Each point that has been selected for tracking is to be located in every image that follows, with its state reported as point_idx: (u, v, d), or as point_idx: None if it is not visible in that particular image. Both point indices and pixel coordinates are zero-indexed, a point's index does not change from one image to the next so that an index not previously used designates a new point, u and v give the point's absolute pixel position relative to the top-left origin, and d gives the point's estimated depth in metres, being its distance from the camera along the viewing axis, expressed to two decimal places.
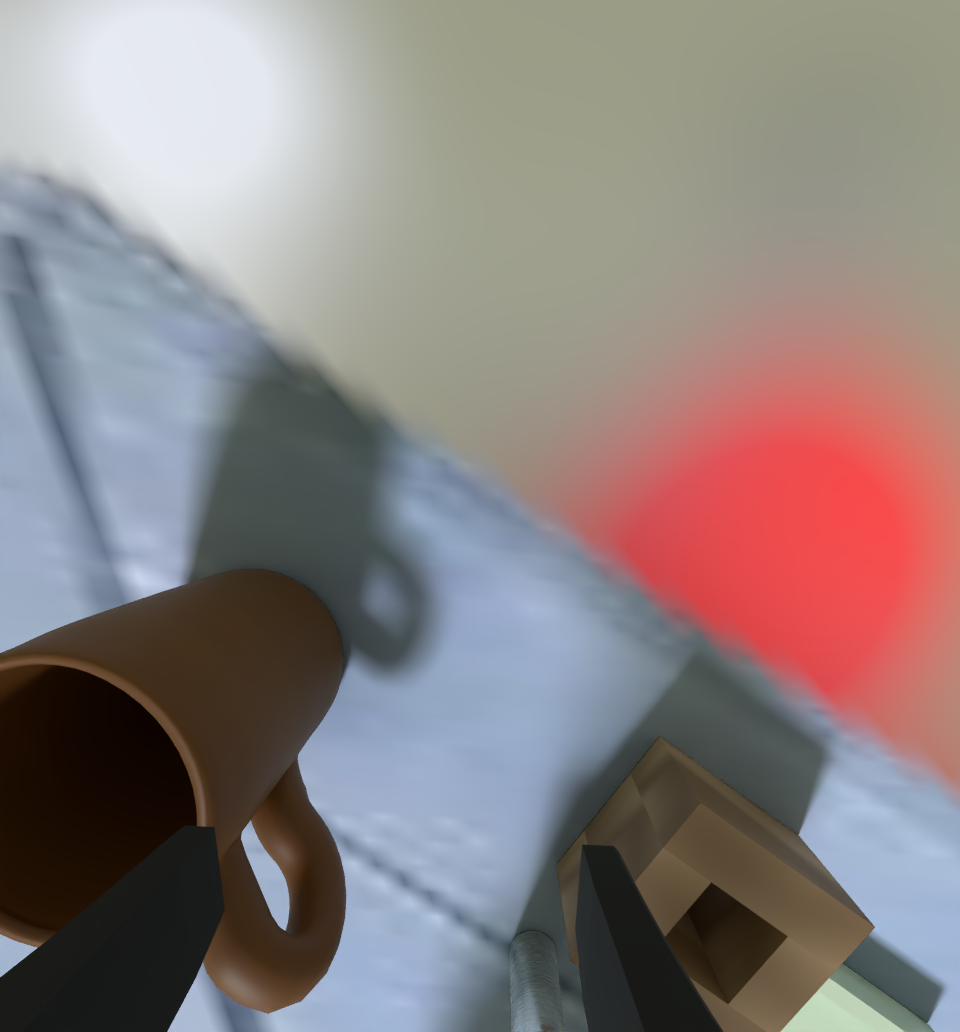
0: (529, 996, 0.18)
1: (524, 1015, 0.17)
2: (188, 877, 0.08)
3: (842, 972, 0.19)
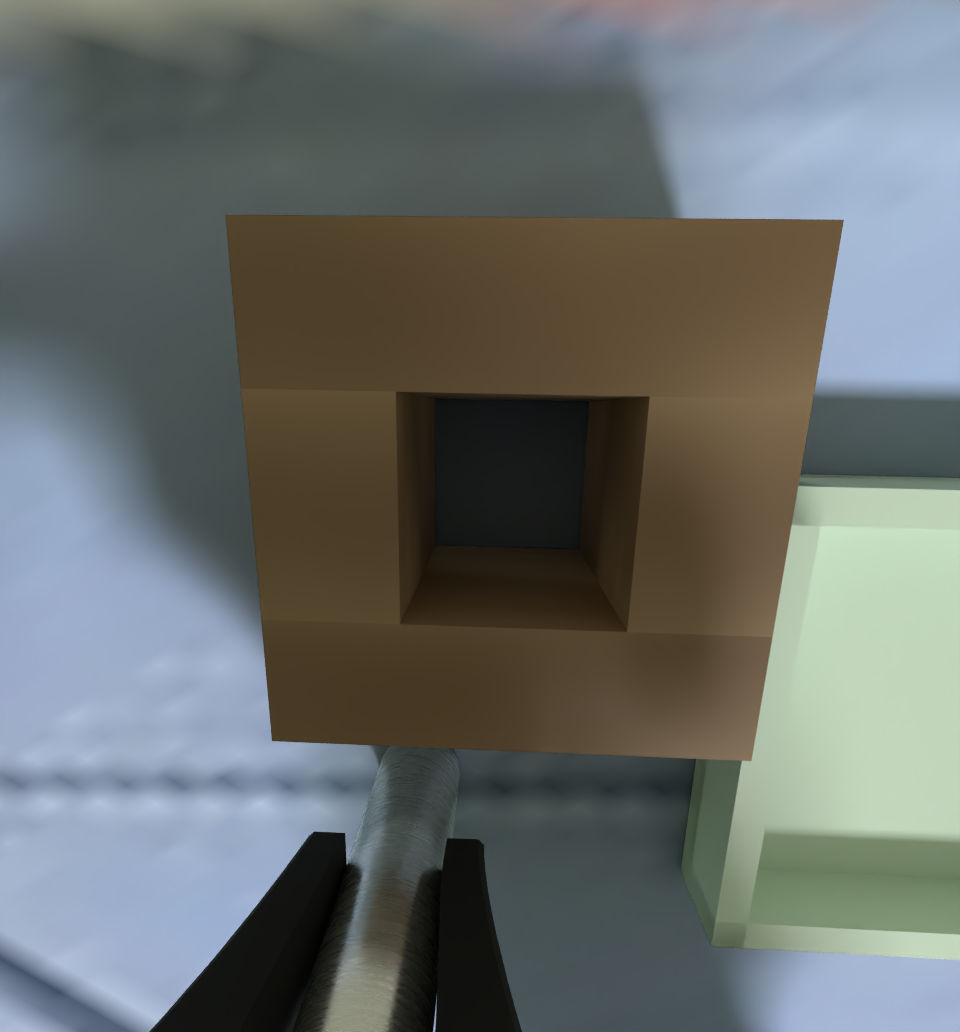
0: (359, 839, 0.09)
1: (344, 875, 0.09)
2: (330, 884, 0.08)
3: (920, 481, 0.09)
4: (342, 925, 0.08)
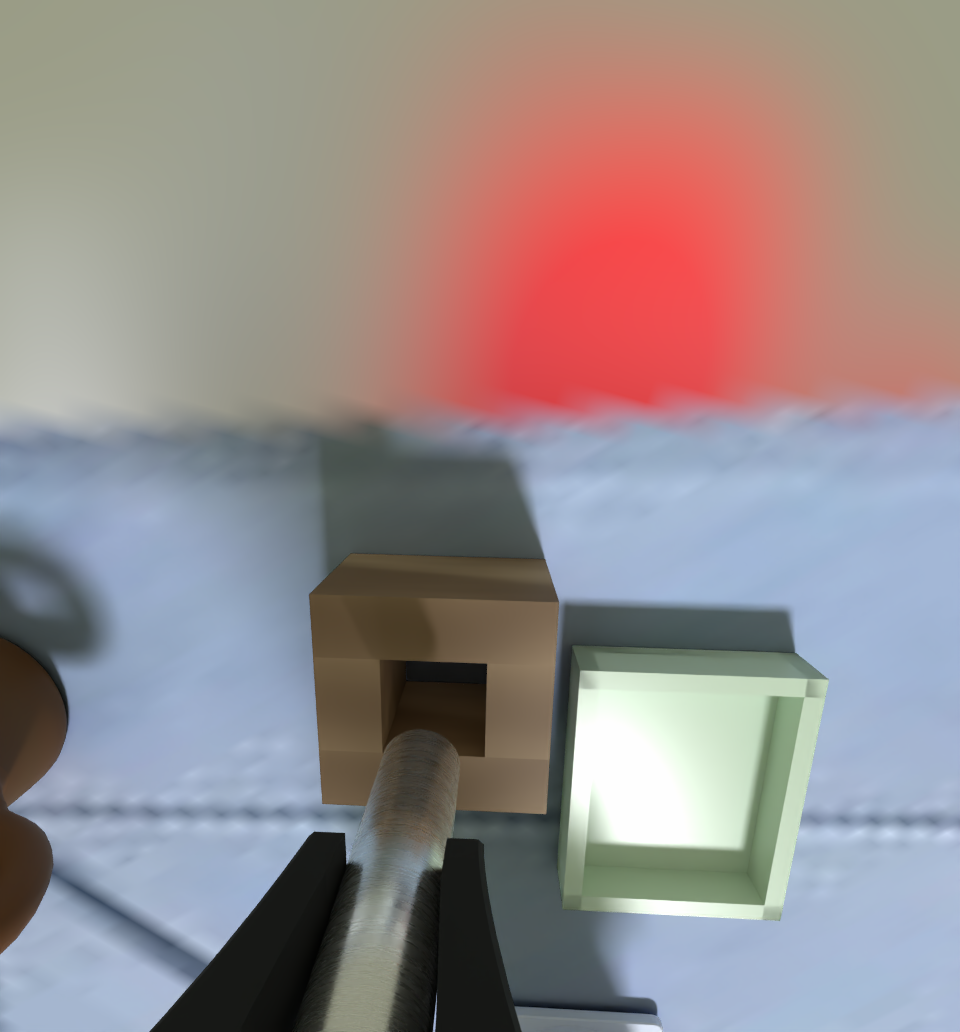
0: (364, 828, 0.10)
1: (348, 862, 0.09)
2: (330, 884, 0.08)
3: (663, 657, 0.17)
4: (348, 911, 0.08)
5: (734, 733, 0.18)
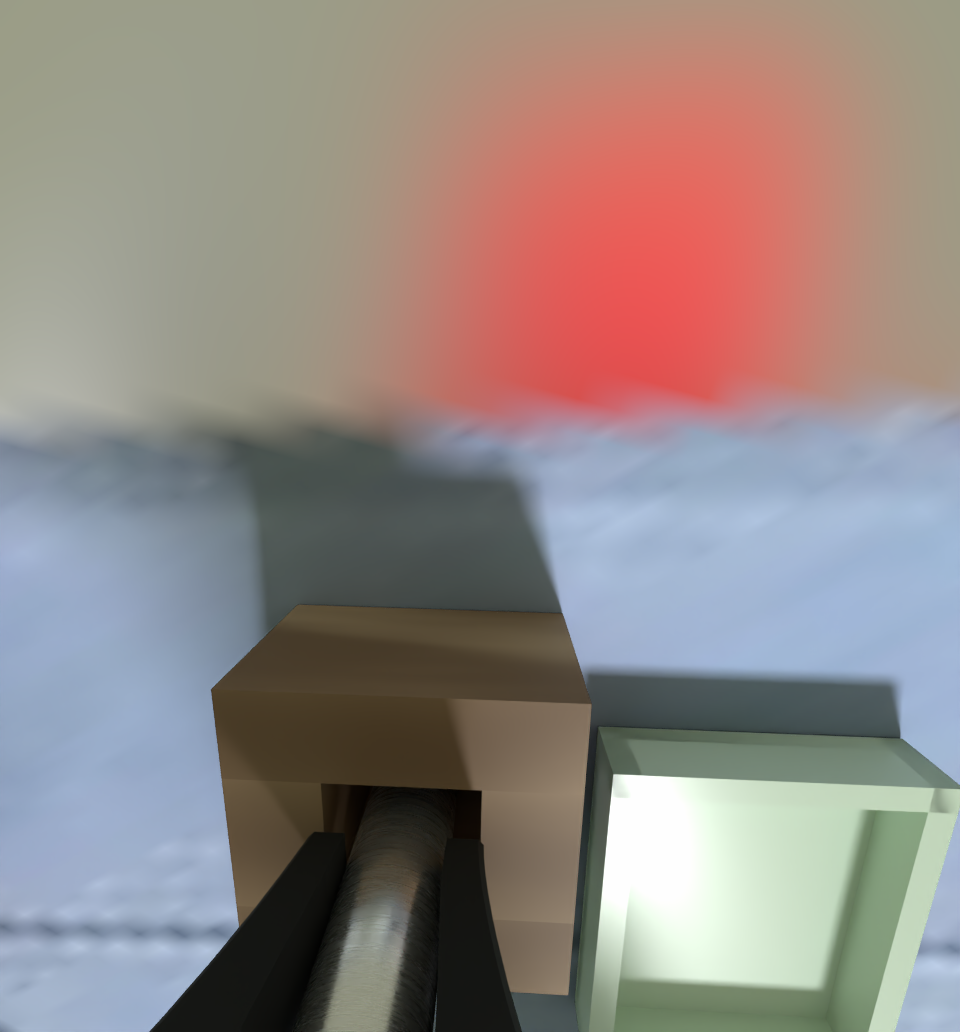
0: (364, 828, 0.10)
1: (348, 862, 0.09)
2: (330, 884, 0.08)
3: (725, 748, 0.13)
4: (348, 910, 0.08)
5: (817, 845, 0.13)
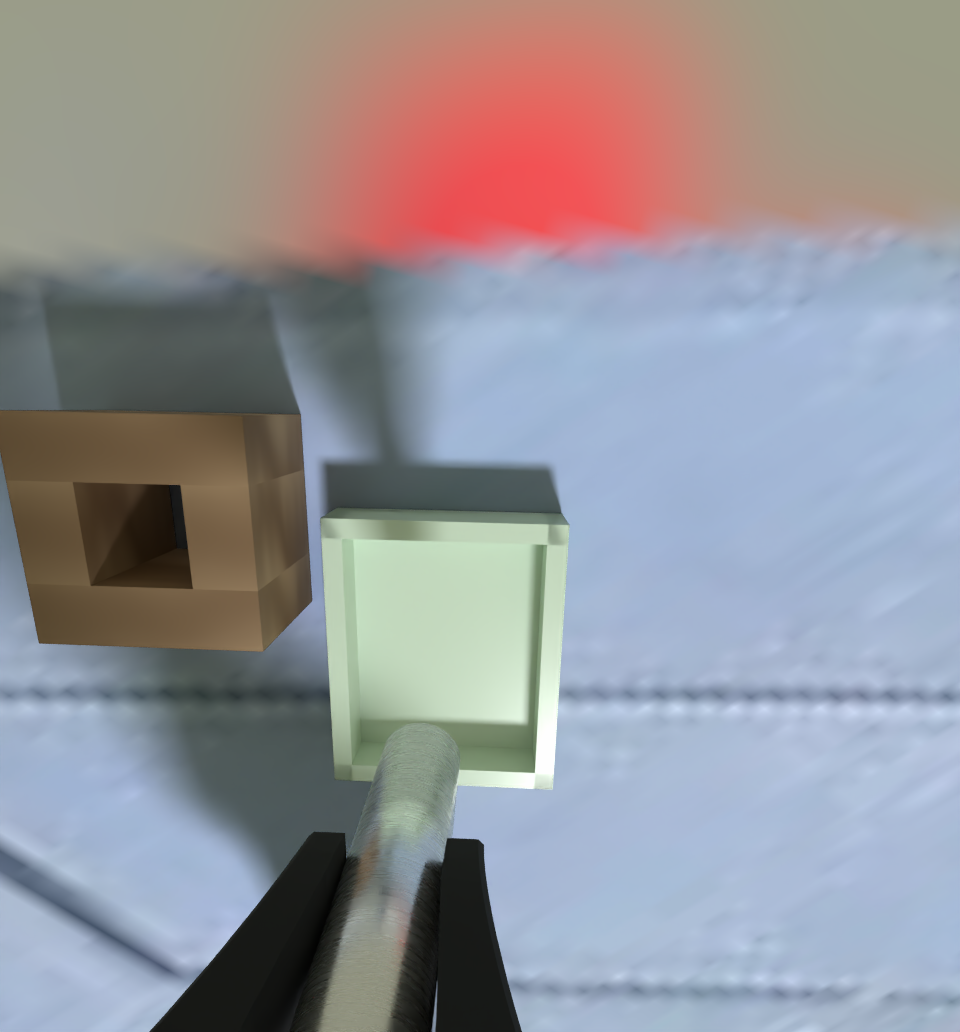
0: (361, 823, 0.10)
1: (347, 857, 0.09)
2: (330, 884, 0.08)
3: (420, 513, 0.17)
4: (344, 902, 0.08)
5: (503, 597, 0.18)
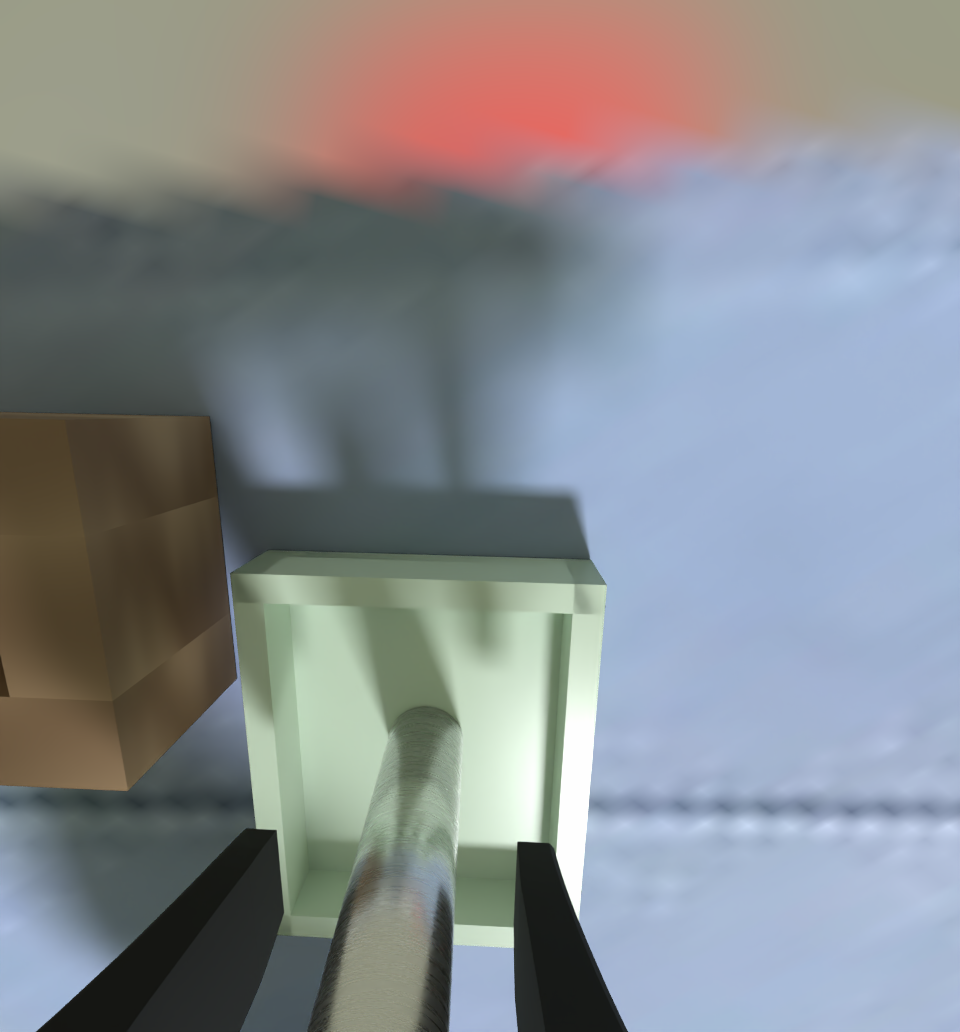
0: (375, 796, 0.10)
1: (364, 827, 0.10)
2: (256, 880, 0.08)
3: (384, 561, 0.12)
4: (367, 863, 0.08)
5: (505, 679, 0.12)
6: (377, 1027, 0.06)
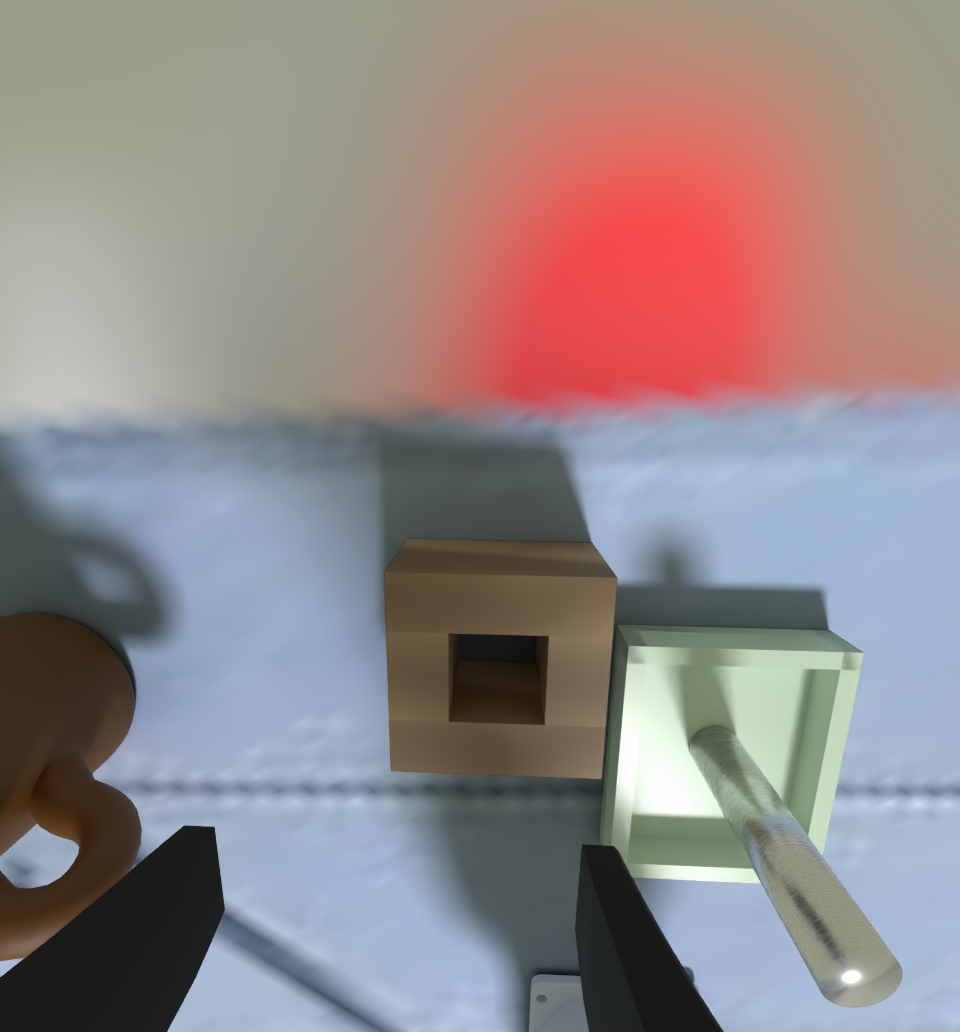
0: (725, 785, 0.17)
1: (729, 803, 0.16)
2: (188, 877, 0.08)
3: (705, 634, 0.18)
4: (760, 822, 0.15)
5: (771, 707, 0.19)
6: (837, 895, 0.13)
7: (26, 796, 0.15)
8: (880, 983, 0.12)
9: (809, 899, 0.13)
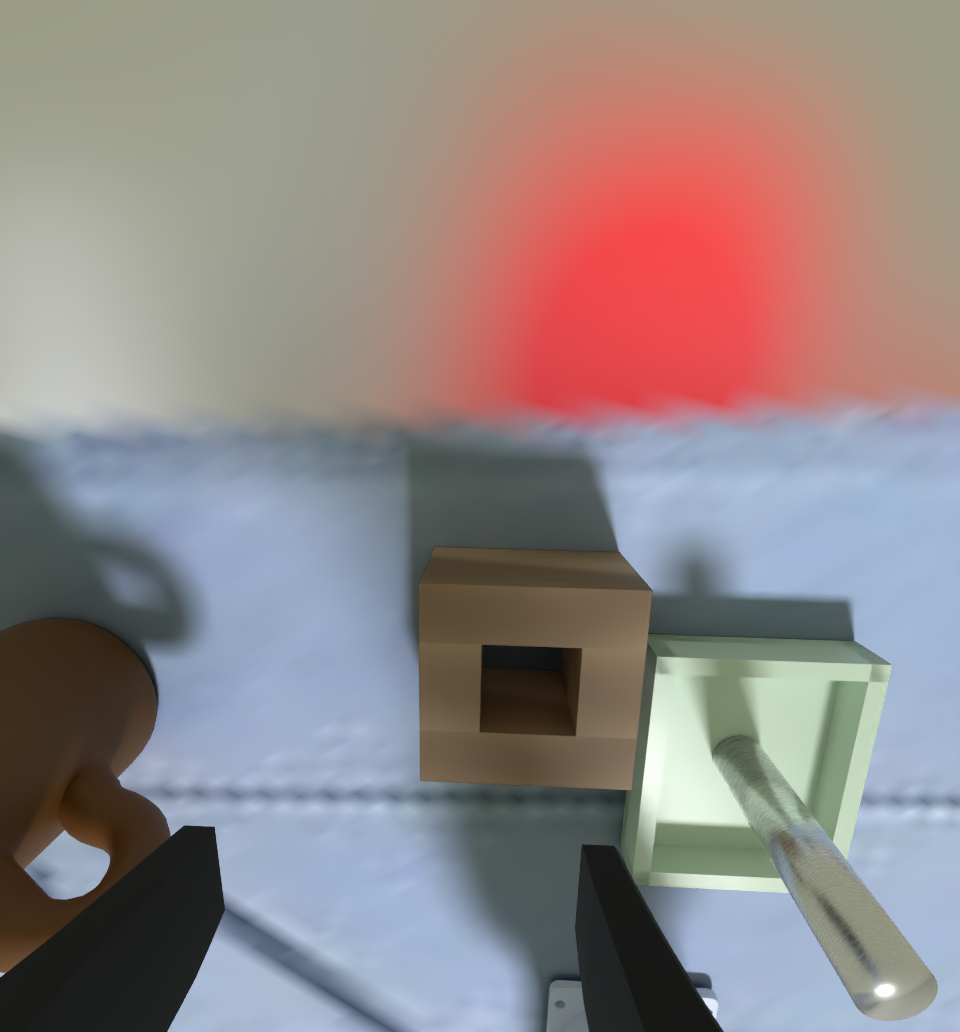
0: (751, 795, 0.17)
1: (755, 813, 0.16)
2: (188, 877, 0.08)
3: (732, 645, 0.18)
4: (788, 833, 0.15)
5: (796, 717, 0.19)
6: (869, 908, 0.13)
7: (55, 804, 0.15)
8: (915, 996, 0.12)
9: (841, 911, 0.13)
